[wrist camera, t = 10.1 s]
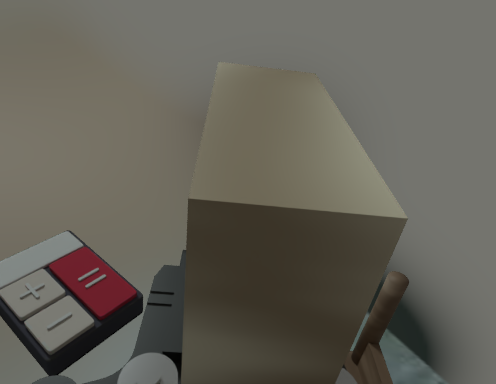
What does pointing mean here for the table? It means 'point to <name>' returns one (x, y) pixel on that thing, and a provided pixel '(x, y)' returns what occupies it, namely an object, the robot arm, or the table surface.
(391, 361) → the table surface
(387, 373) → the rack
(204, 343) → the beige wooden block
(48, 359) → the calculator
